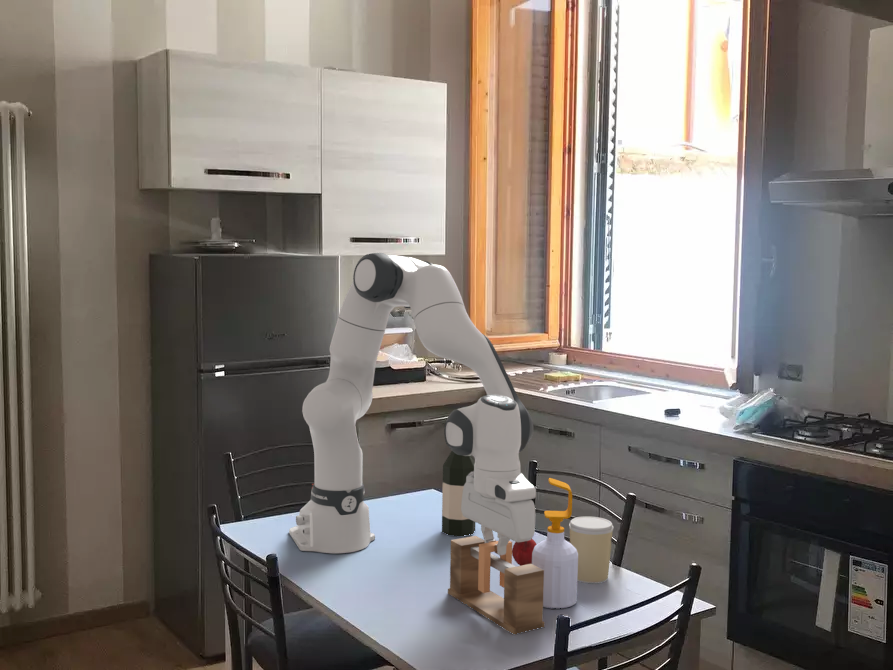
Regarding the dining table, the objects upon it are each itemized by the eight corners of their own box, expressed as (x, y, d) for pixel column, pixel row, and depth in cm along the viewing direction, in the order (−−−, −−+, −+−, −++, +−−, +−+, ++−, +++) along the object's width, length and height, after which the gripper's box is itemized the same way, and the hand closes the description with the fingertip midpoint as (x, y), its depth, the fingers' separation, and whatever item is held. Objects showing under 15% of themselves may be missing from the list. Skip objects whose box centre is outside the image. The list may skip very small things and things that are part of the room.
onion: (536, 574, 204) (537, 537, 203) (510, 571, 205) (510, 535, 204) (539, 564, 209) (540, 529, 208) (513, 562, 210) (514, 527, 210)
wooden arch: (478, 589, 182) (478, 544, 182) (505, 583, 186) (506, 539, 185) (483, 593, 181) (484, 547, 180) (511, 587, 184) (512, 542, 183)
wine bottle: (454, 524, 238) (456, 406, 235) (482, 530, 233) (484, 410, 230) (434, 532, 231) (436, 411, 228) (462, 539, 226) (465, 415, 223)
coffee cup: (620, 579, 201) (622, 524, 200) (587, 588, 196) (589, 531, 195) (591, 566, 209) (593, 513, 208) (558, 574, 204) (560, 519, 202)
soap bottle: (529, 591, 193) (532, 473, 191) (574, 593, 193) (578, 474, 190) (532, 608, 184) (535, 485, 182) (579, 610, 184) (583, 486, 181)
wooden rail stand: (447, 593, 192) (448, 540, 190) (476, 587, 195) (477, 535, 194) (513, 634, 172) (515, 576, 171) (544, 627, 176) (546, 569, 174)
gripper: (454, 471, 188) (452, 538, 190) (513, 495, 171) (511, 570, 172) (480, 467, 191) (479, 534, 193) (541, 491, 174) (539, 564, 176)
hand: (495, 551), depth 182 cm, fingers closed on wooden arch, 2 cm apart
